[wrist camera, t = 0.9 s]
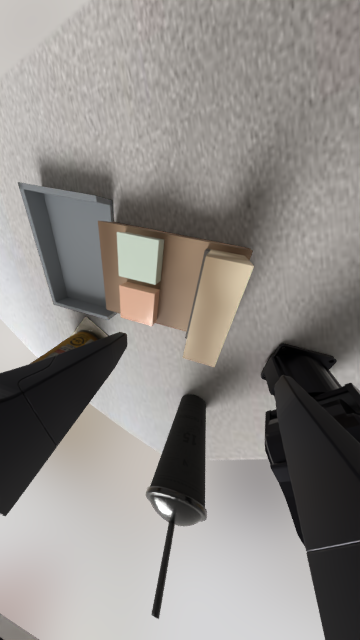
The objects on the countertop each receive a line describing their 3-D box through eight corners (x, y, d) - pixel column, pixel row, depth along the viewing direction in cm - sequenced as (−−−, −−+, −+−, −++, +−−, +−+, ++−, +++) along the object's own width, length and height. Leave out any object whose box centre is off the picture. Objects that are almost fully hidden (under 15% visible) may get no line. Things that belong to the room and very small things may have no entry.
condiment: (69, 338, 30) (-9, 392, 20) (86, 315, 26) (-1, 368, 16) (98, 363, 32) (39, 424, 22) (119, 344, 28) (58, 409, 18)
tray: (112, 200, 17) (95, 195, 15) (118, 312, 24) (108, 320, 22) (41, 188, 18) (17, 182, 16) (67, 298, 25) (53, 304, 23)
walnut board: (248, 247, 16) (252, 250, 13) (220, 327, 21) (219, 340, 19) (115, 222, 18) (97, 220, 15) (119, 301, 23) (106, 309, 20)
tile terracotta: (159, 289, 17) (154, 294, 16) (156, 320, 19) (152, 326, 18) (126, 281, 18) (119, 285, 17) (127, 311, 20) (120, 317, 19)
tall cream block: (244, 255, 14) (254, 266, 10) (216, 336, 18) (214, 367, 14) (207, 248, 14) (199, 254, 10) (188, 328, 19) (178, 356, 15)
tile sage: (164, 239, 15) (158, 240, 13) (160, 280, 17) (155, 284, 16) (125, 232, 15) (116, 231, 14) (126, 272, 17) (118, 276, 16)
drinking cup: (212, 418, 31) (198, 636, 14) (175, 410, 33) (125, 596, 16) (214, 393, 28) (199, 646, 11) (173, 386, 29) (105, 593, 13)
